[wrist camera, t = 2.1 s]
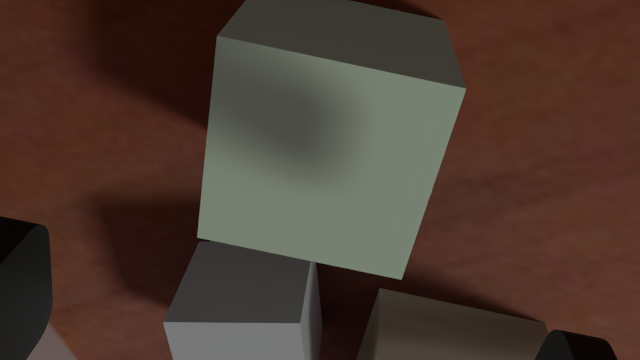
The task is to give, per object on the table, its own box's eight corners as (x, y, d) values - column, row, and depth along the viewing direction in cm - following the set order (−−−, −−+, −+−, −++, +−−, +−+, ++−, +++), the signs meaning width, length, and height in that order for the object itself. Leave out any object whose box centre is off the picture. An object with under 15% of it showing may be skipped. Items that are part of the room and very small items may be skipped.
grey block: (199, 240, 20) (162, 322, 17) (314, 239, 20) (300, 323, 17) (218, 325, 22) (188, 414, 19) (322, 326, 22) (311, 418, 19)
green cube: (261, -20, 16) (216, 36, 12) (443, 19, 16) (466, 88, 12) (240, 143, 18) (197, 237, 14) (397, 175, 18) (401, 279, 14)
